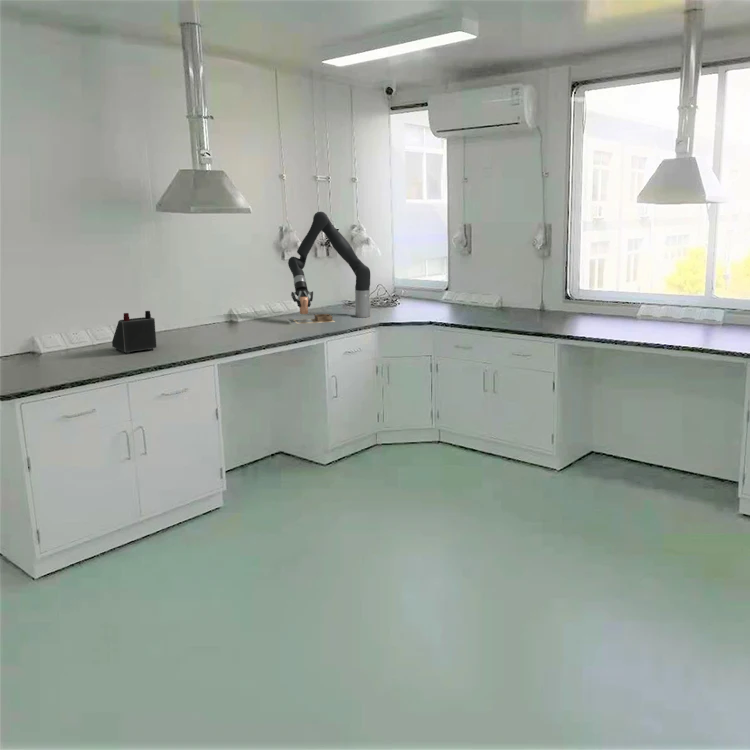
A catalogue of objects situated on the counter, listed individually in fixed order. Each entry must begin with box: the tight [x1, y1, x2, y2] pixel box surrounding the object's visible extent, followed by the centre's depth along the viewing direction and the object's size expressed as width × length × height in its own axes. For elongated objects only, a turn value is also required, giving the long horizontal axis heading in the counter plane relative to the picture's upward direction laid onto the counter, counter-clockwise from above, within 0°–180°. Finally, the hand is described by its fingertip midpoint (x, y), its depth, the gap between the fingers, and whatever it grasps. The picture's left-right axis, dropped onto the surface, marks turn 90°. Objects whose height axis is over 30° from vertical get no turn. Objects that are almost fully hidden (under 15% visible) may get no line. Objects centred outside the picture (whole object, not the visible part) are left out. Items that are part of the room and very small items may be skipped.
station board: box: [292, 313, 336, 325], centre depth 427 cm, size 24×14×4 cm, turn 108°
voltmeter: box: [111, 310, 158, 355], centre depth 345 cm, size 16×16×20 cm
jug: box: [299, 297, 309, 315], centre depth 422 cm, size 5×8×10 cm
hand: (304, 306), depth 421 cm, fingers closed on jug, 5 cm apart
